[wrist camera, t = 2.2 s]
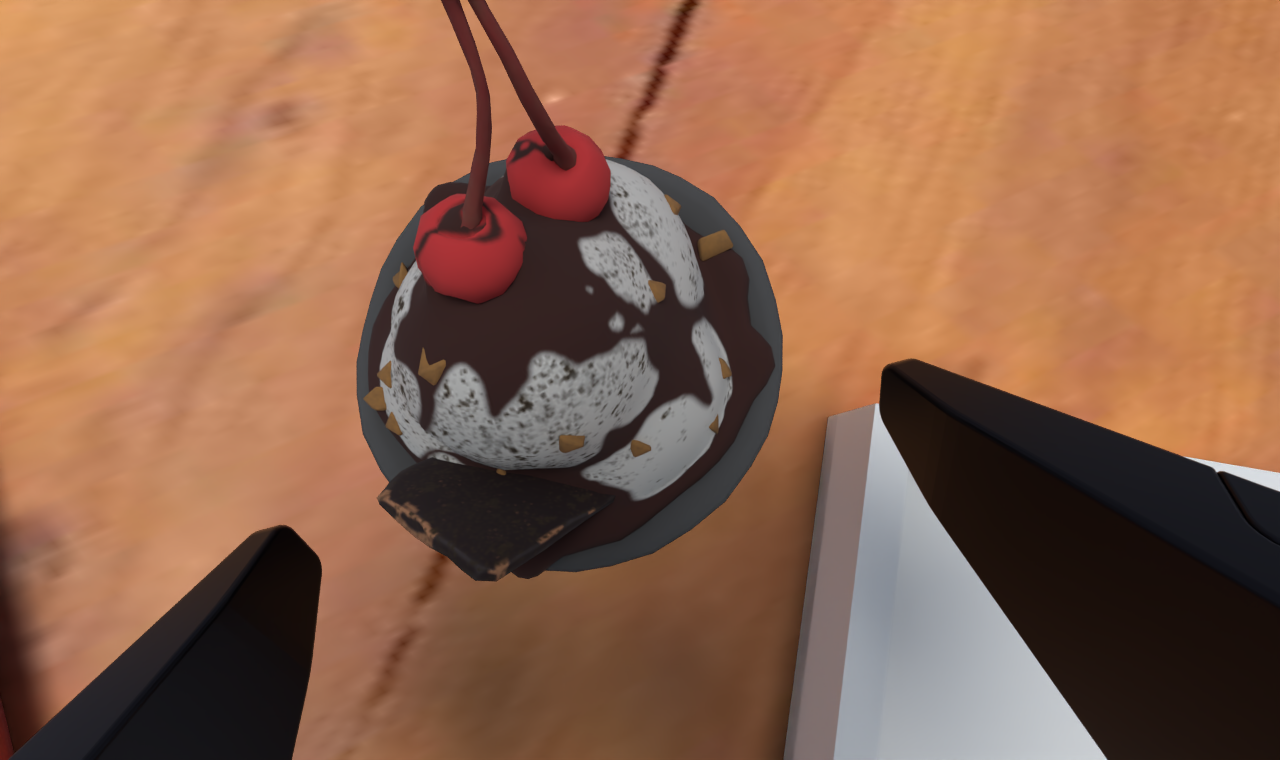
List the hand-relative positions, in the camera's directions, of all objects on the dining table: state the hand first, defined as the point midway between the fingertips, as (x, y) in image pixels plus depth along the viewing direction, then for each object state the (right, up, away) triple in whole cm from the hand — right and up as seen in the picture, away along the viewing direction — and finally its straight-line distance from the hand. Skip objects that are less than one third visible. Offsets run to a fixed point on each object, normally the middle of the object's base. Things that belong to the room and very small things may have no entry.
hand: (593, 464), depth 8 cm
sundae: (0, 0, +10) cm, 10 cm away
